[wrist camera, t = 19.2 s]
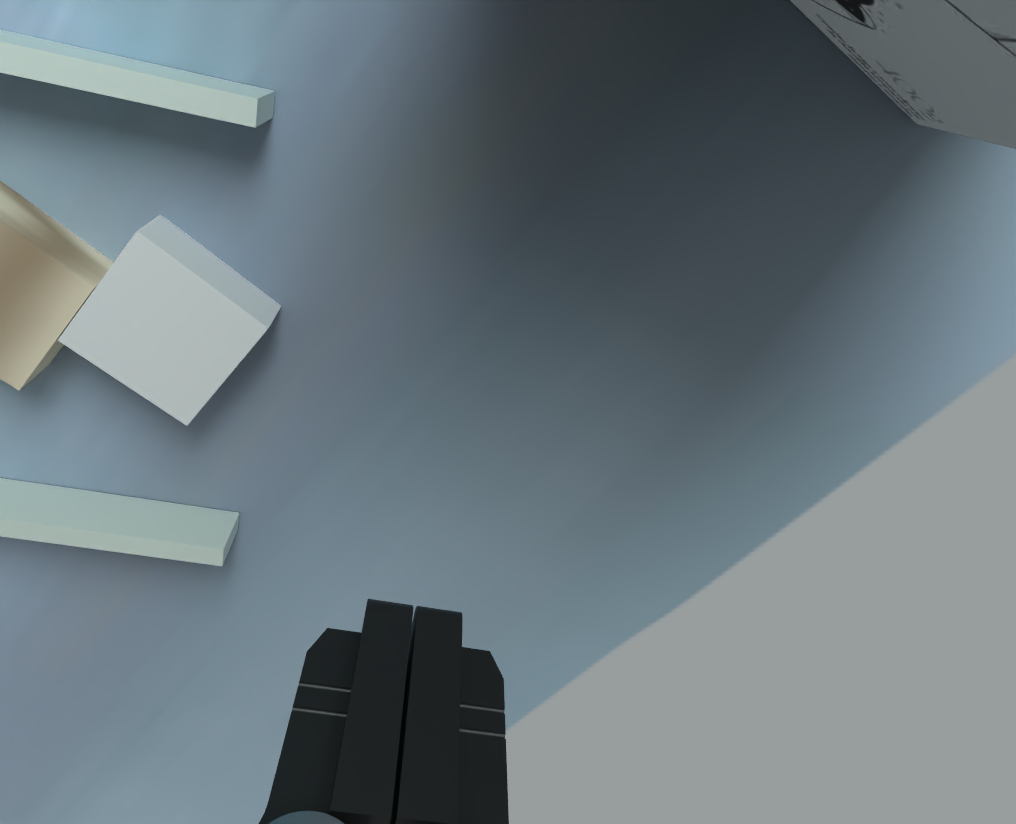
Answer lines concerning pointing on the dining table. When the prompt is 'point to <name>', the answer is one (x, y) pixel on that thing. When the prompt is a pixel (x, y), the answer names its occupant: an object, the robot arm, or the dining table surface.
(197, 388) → the pale grey tile
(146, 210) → the dining table surface
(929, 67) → the cereal box
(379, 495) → the dining table surface
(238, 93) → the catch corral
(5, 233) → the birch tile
